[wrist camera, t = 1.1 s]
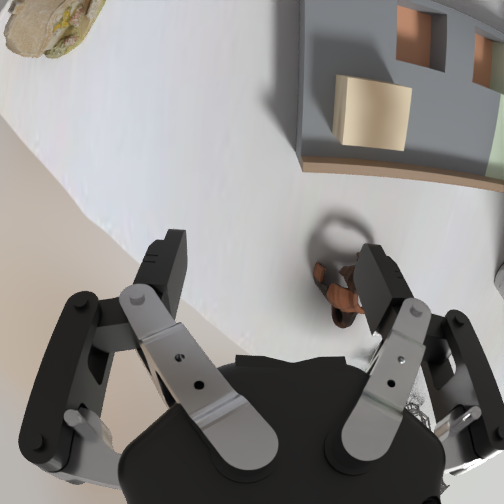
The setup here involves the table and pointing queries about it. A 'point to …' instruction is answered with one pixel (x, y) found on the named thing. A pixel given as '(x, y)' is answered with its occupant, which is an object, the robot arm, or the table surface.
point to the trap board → (410, 75)
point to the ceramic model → (49, 26)
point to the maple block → (371, 113)
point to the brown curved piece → (340, 296)
